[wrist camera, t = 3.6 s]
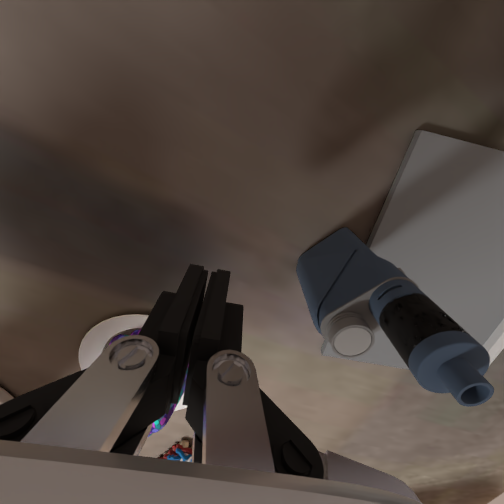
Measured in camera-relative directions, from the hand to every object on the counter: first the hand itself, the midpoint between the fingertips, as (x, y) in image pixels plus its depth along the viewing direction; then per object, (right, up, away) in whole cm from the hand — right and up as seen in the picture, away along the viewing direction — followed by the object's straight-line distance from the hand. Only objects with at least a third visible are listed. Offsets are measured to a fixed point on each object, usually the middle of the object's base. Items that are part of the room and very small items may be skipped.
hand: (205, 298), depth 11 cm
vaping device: (+8, +2, +8) cm, 11 cm away
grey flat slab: (+16, 0, +9) cm, 19 cm away
